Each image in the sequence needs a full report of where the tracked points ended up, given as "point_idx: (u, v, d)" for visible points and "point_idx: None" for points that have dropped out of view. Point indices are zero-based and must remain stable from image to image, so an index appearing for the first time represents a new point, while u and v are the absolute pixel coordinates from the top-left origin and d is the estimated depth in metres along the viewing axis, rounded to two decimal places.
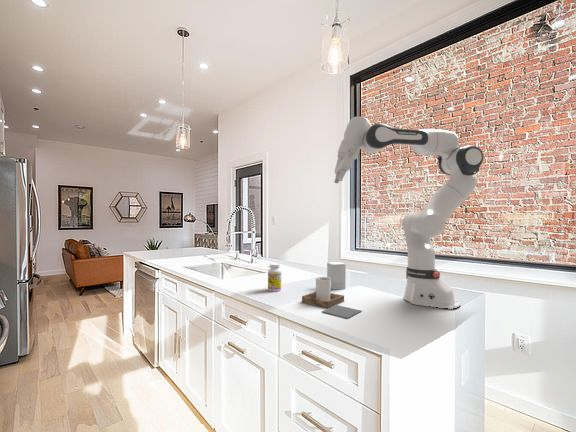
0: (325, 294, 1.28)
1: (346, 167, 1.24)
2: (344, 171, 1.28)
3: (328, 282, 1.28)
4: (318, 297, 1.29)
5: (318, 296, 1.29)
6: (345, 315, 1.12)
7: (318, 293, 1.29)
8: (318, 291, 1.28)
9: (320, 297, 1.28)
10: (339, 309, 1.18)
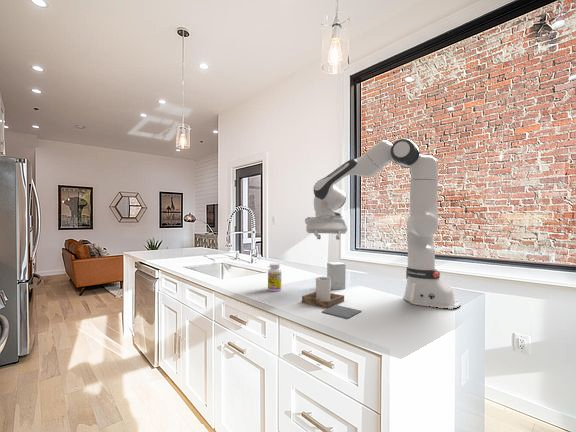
0: (325, 294, 1.28)
1: (307, 230, 1.48)
2: (314, 231, 1.47)
3: (328, 282, 1.28)
4: (318, 297, 1.29)
5: (318, 296, 1.29)
6: (345, 315, 1.12)
7: (318, 293, 1.29)
8: (318, 291, 1.28)
9: (320, 297, 1.28)
10: (339, 309, 1.18)
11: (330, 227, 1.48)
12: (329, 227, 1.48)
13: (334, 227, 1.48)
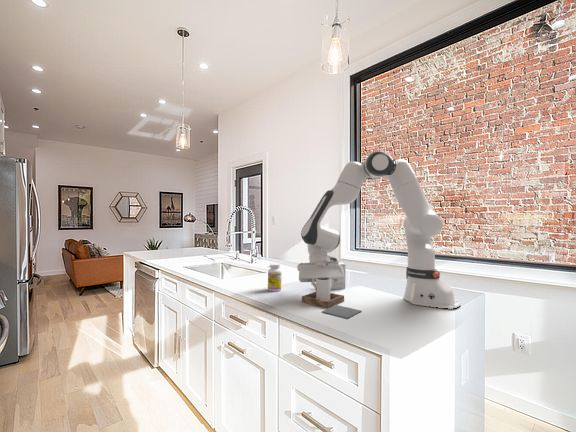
0: (325, 294, 1.28)
1: (299, 279, 1.32)
2: (311, 281, 1.32)
3: (328, 282, 1.28)
4: (318, 297, 1.29)
5: (318, 296, 1.29)
6: (345, 315, 1.12)
7: (318, 293, 1.29)
8: (318, 291, 1.28)
9: (320, 297, 1.28)
10: (339, 309, 1.18)
11: (325, 275, 1.33)
12: (324, 275, 1.33)
13: (330, 276, 1.33)
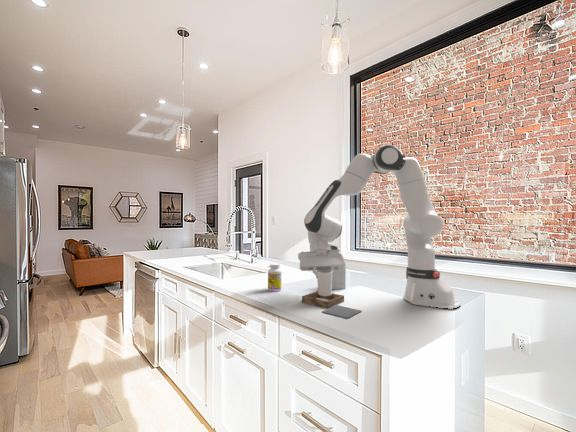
0: (327, 287, 1.27)
1: (300, 267, 1.32)
2: (312, 269, 1.32)
3: (329, 275, 1.27)
4: (320, 290, 1.29)
5: (320, 289, 1.29)
6: (345, 315, 1.12)
7: (320, 286, 1.28)
8: (320, 284, 1.28)
9: (322, 290, 1.28)
10: (339, 309, 1.18)
11: (326, 263, 1.33)
12: (325, 264, 1.33)
13: (330, 264, 1.33)
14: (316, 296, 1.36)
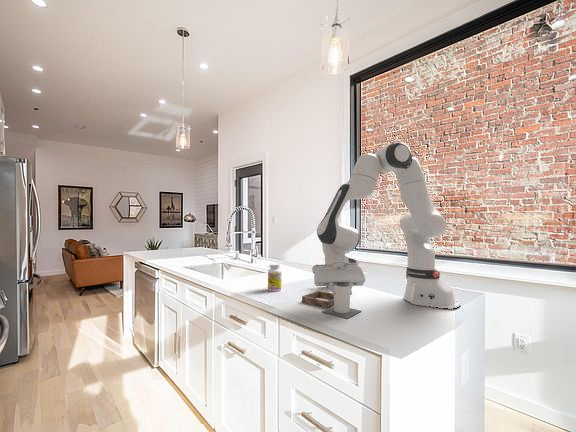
0: (344, 302, 1.14)
1: (315, 282, 1.19)
2: (329, 285, 1.18)
3: (348, 289, 1.14)
4: (336, 306, 1.15)
5: (336, 305, 1.15)
6: (345, 315, 1.12)
7: (336, 301, 1.15)
8: (337, 299, 1.15)
9: (339, 306, 1.15)
10: None
11: (344, 279, 1.19)
12: (343, 279, 1.19)
13: (349, 279, 1.19)
14: (316, 296, 1.36)
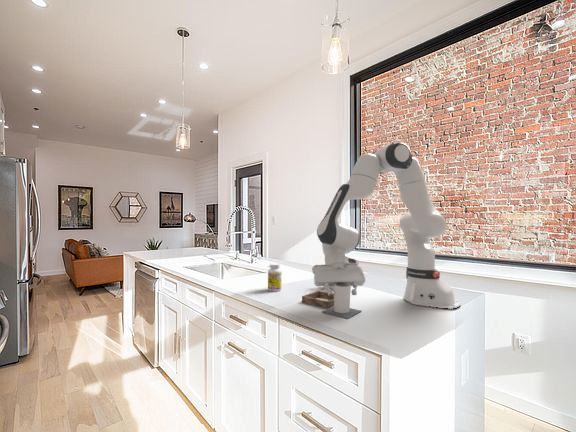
0: (344, 302, 1.14)
1: (315, 283, 1.19)
2: (324, 285, 1.18)
3: (348, 289, 1.14)
4: (336, 306, 1.15)
5: (336, 305, 1.15)
6: (345, 315, 1.12)
7: (336, 301, 1.15)
8: (337, 299, 1.15)
9: (339, 306, 1.15)
10: None
11: (344, 279, 1.19)
12: (343, 279, 1.19)
13: (349, 279, 1.19)
14: (316, 296, 1.36)
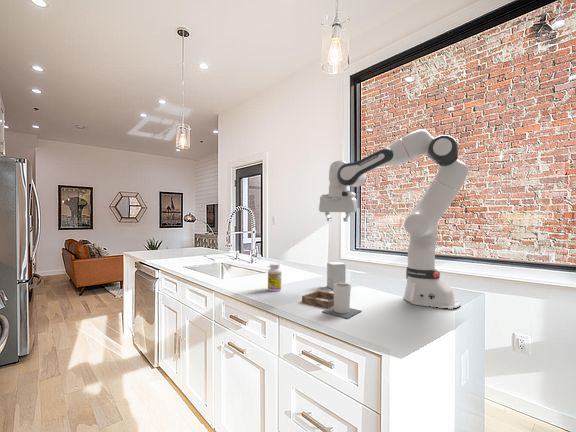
0: (344, 302, 1.14)
1: None
2: None
3: (348, 289, 1.14)
4: (336, 306, 1.15)
5: (336, 305, 1.15)
6: (345, 315, 1.12)
7: (336, 301, 1.15)
8: (337, 299, 1.15)
9: (339, 306, 1.15)
10: None
11: (338, 210, 1.50)
12: (337, 210, 1.51)
13: (341, 210, 1.49)
14: (316, 296, 1.36)
